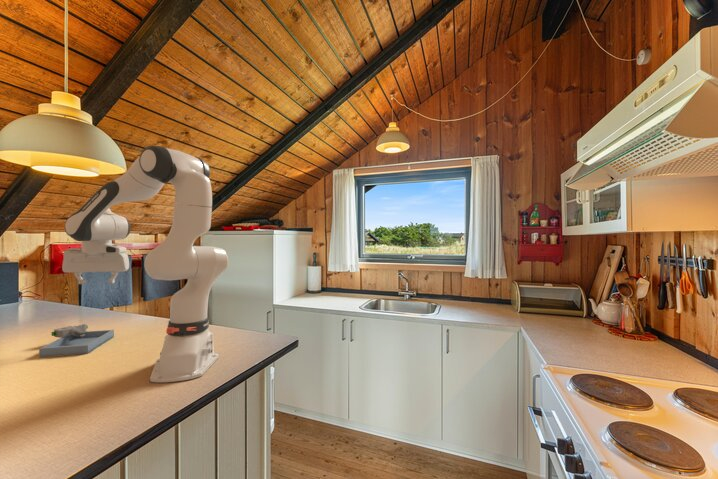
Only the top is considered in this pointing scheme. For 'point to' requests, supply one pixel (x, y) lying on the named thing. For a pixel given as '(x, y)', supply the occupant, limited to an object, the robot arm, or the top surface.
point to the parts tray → (76, 344)
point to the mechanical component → (70, 331)
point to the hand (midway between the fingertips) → (96, 283)
